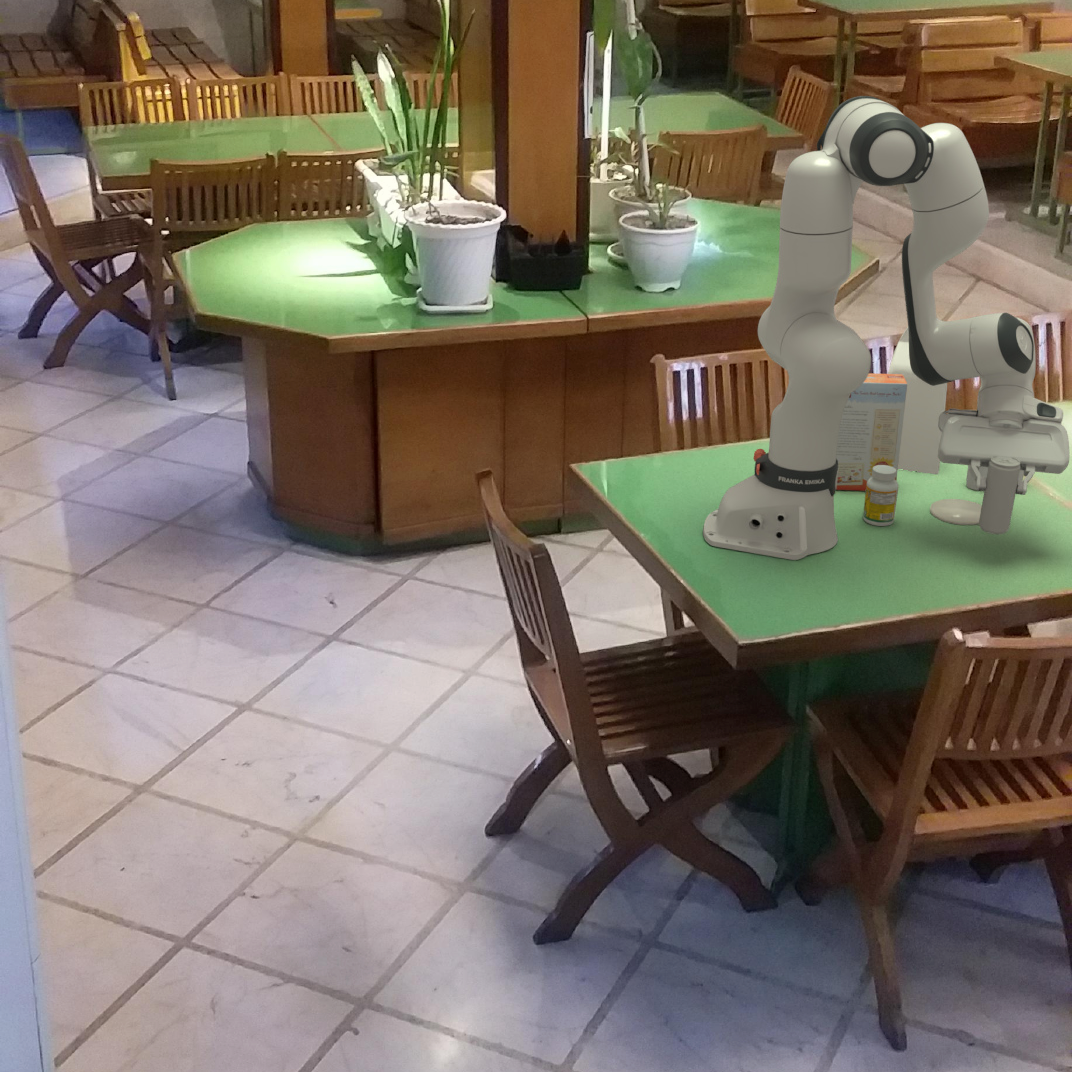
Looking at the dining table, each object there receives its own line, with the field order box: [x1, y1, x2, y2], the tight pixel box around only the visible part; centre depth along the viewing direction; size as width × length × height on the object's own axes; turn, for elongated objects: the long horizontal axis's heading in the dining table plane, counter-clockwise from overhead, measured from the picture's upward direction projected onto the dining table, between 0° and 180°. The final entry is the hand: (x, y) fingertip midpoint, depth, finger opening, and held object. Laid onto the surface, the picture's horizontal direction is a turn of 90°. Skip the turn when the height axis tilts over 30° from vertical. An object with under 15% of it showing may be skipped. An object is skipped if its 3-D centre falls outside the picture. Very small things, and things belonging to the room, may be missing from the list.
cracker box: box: [836, 372, 907, 492], centre depth 262 cm, size 14×6×21 cm, turn 84°
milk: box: [887, 326, 948, 475], centre depth 273 cm, size 12×12×26 cm
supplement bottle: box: [862, 465, 899, 527], centre depth 250 cm, size 5×5×10 cm
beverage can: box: [978, 456, 1020, 535], centre depth 234 cm, size 5×5×12 cm
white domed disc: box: [929, 498, 982, 526], centre depth 255 cm, size 10×10×1 cm
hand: (1000, 491), depth 233 cm, fingers closed on beverage can, 5 cm apart
